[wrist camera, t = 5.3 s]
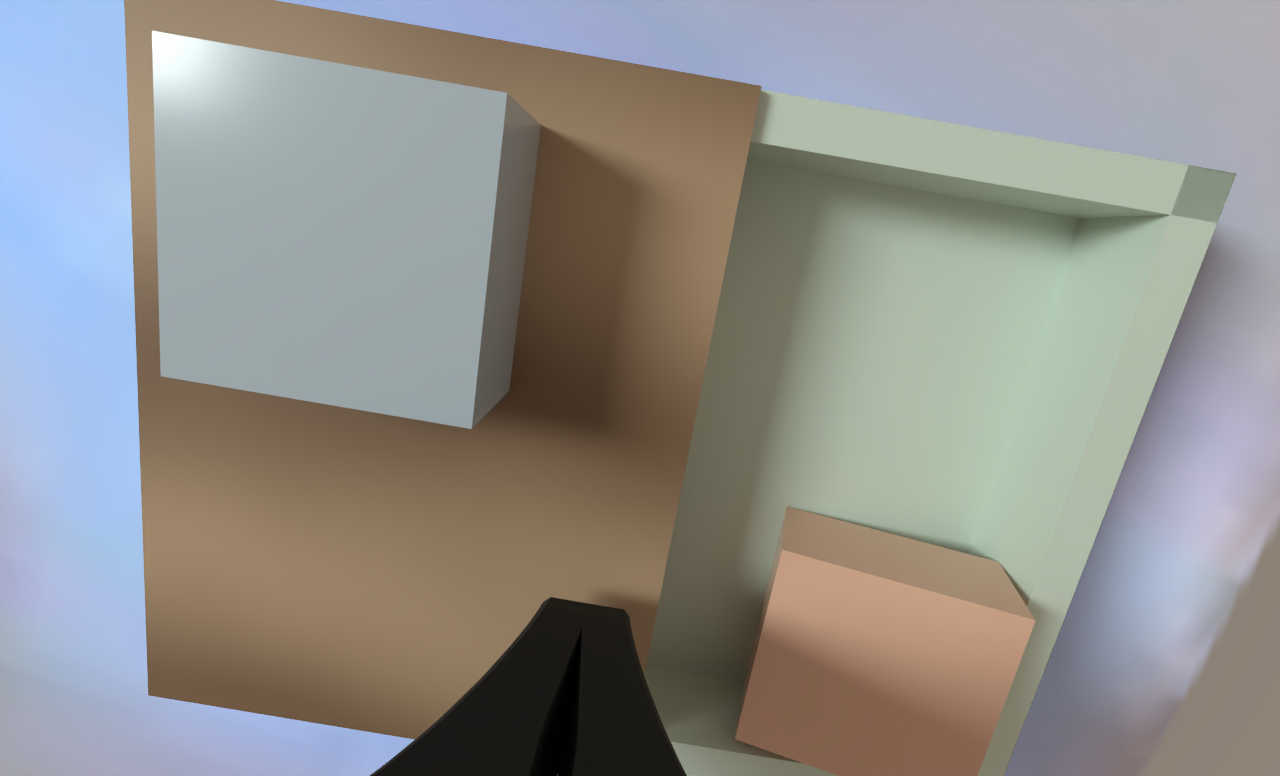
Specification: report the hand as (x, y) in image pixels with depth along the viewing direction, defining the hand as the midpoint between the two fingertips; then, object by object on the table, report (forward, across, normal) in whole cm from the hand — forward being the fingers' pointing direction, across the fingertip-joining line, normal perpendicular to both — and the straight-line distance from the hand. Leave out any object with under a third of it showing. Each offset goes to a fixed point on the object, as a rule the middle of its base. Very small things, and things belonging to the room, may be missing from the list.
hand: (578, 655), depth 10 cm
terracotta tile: (+1, -5, 0) cm, 5 cm away
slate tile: (+1, +4, -6) cm, 7 cm away
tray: (+3, -5, -3) cm, 7 cm away
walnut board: (+3, +3, -3) cm, 6 cm away
